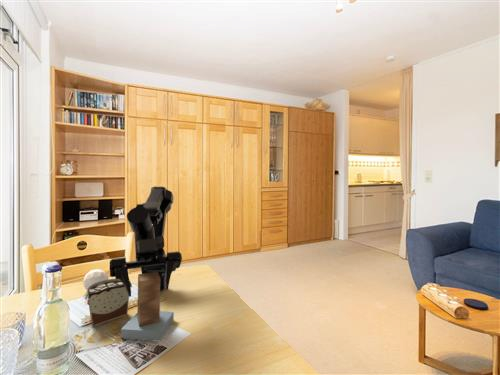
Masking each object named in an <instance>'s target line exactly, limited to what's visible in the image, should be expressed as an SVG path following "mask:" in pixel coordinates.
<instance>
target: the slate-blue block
mask: <svg viewBox="0 0 500 375" xmlns="http://www.w3.org/2000/svg"><path fill="white" fill-rule="evenodd" d="M174 315H175V314H174V311H166V310H160V315H159V323H154V324H149V325H144V326H139V323H138V318H137V313H136V314H135V315H133V316H132V318H130V319H129V320H128V322H126V324H124V326H122V328H121V329H120V331H121V332H120V334H121V335H120V339H121V338H124V339H125V340H135V339H145V340H144V341H150V340H160V341H161V339H162V338H163V336H164V335H165V333H166V332H167V331H168V329H169V328H170V326H171V324H172V323H173V322H174V320H175V319H174V318H175V317H174ZM166 330H167V331H166ZM163 334H164V335H163ZM161 337H162V338H161ZM124 339H123V340H124Z"/></svg>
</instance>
